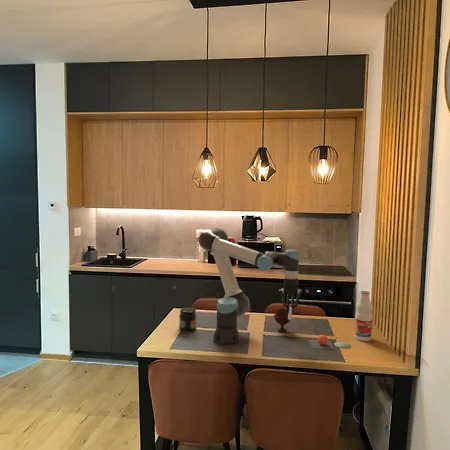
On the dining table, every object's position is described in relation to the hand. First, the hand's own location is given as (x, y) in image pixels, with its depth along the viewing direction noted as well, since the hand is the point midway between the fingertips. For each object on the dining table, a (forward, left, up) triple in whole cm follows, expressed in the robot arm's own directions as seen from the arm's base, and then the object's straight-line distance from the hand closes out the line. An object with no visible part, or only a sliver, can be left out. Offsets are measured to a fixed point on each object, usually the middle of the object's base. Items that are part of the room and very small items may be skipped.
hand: (289, 319), depth 211 cm
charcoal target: (+18, 0, -14) cm, 23 cm away
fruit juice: (+45, +11, -14) cm, 48 cm away
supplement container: (-59, +19, -14) cm, 64 cm away
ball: (+19, 0, -11) cm, 22 cm away
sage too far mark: (+30, 0, -14) cm, 33 cm away
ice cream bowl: (-1, +20, -14) cm, 24 cm away
